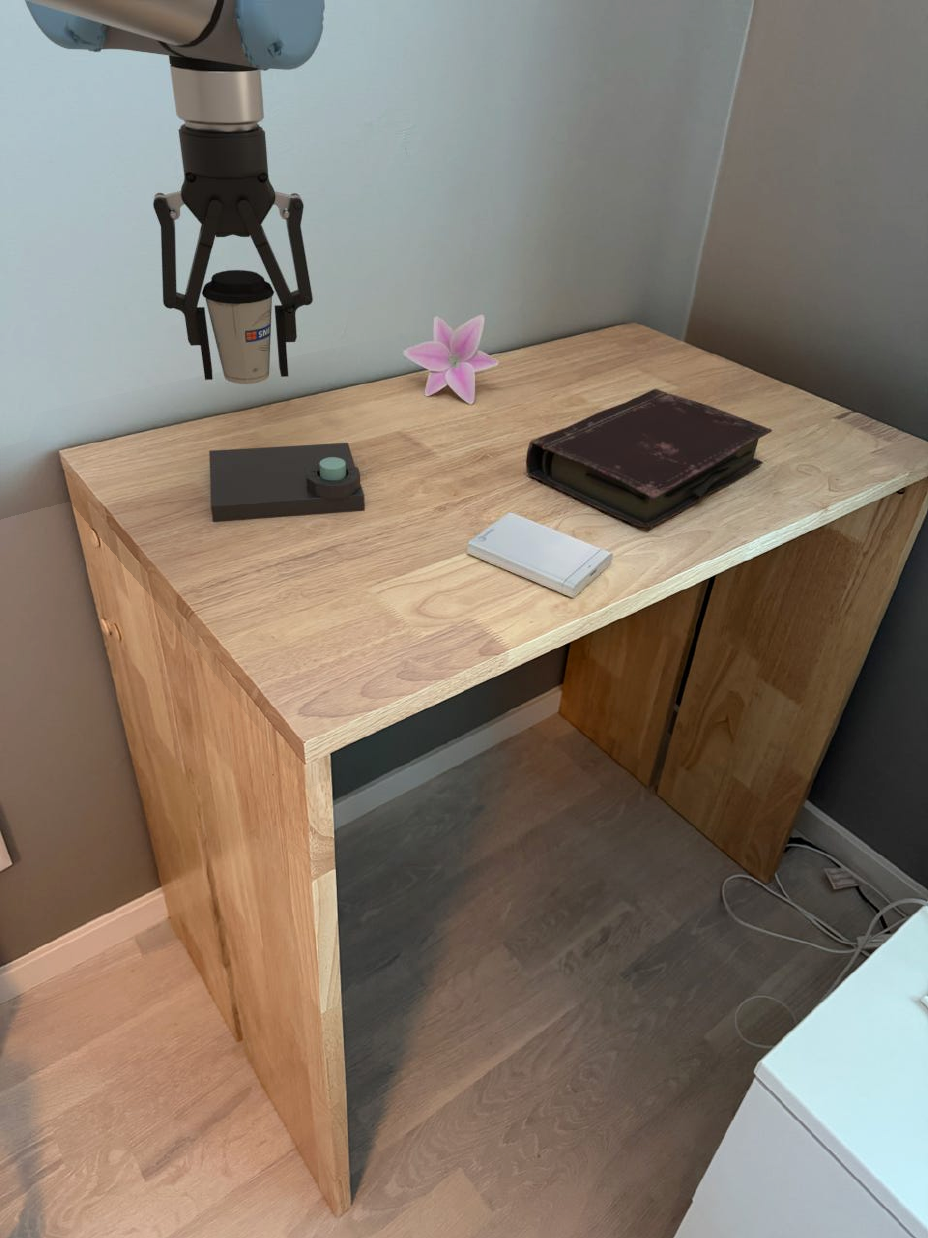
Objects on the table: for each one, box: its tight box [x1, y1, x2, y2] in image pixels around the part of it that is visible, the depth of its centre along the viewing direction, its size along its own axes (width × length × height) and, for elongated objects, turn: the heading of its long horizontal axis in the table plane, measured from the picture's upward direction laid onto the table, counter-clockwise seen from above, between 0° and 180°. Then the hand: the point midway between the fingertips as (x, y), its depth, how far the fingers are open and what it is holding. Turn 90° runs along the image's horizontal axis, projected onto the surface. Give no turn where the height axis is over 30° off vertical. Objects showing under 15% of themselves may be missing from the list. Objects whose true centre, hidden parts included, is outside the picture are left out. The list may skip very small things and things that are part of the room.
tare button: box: [319, 457, 346, 480], centre depth 95 cm, size 3×3×2 cm
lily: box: [402, 314, 500, 405], centre depth 122 cm, size 12×12×10 cm
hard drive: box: [466, 511, 614, 598], centre depth 89 cm, size 2×8×12 cm
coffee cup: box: [201, 269, 275, 385], centre depth 89 cm, size 7×7×10 cm
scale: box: [208, 442, 365, 522], centre depth 98 cm, size 16×13×4 cm
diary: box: [525, 388, 773, 528], centre depth 105 cm, size 19×25×5 cm
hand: (246, 372), depth 92 cm, fingers closed on coffee cup, 7 cm apart
